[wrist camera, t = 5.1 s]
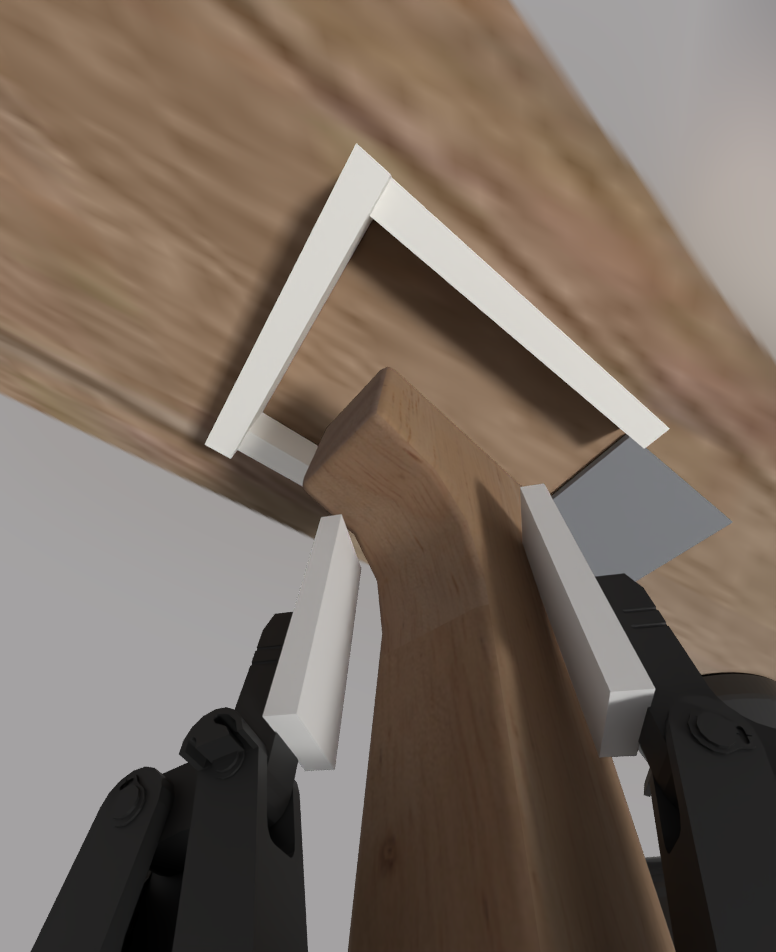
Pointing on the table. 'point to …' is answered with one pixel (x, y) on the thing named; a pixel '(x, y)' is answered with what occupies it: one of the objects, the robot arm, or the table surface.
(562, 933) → the wooden block
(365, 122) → the table surface
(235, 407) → the white u-shaped bracket
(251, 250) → the table surface
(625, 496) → the pad
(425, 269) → the table surface
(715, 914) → the robot arm
